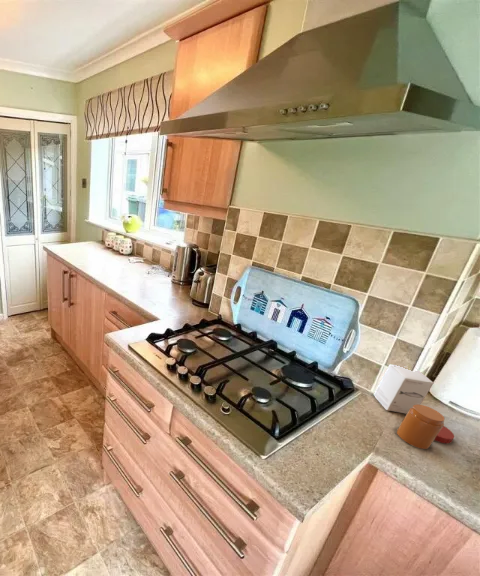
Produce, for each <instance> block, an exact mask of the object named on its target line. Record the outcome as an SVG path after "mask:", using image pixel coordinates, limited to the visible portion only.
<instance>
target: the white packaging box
mask: <svg viewBox="0 0 480 576" xmlns="http://www.w3.org/2000/svg"><path fill="white" fill-rule="evenodd" d="M400 366H401V365H398V366H397V365H396V364H391V363H390V364H388V366H387V368H386V370H385V372H384V374H383V375H382V377H381V380H380V381H379V383H378V385H377V387H376V389H375V391H374V393H373V396H374V398H375V399H376V400H377V401H378V402H379V404H380V405H381V406H382V407H383V409H385V410H386V411H389V412H396V413H400V414H405V415H406V414H407V413H408V411H409V409H410V408H413V405H417V404H419V405H422V403H423V401H424V400H425V398H426V396H427V395H428V393H429V392H430V390H431V388H432V387H433V384H434V381H432V380H431V379H430V378H429V377H428V376H426V375H425V374H424V373H422V371H420V370H419V369H417V370H418V371H415V372H413V371H411V370H408V369H405V368H403V367H400Z"/></svg>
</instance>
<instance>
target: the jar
mask: <svg viewBox="0 0 480 576" xmlns="http://www.w3.org/2000/svg"><path fill="white" fill-rule="evenodd" d="M444 422H445V417H444V416H443V414H442V413H441V412H440V411H437V410H436V409H434V408H432V407H429V406H427V405H424V404H420V405H419V404H417V405H413V408H410V409H409V411H408V413H407V414H405V416H404V417H403V420H402V421H401V423H400V425H399V426H398V428H397V430H396V434H397V436H398V437H399V438H400V439H401V440H402V441H404V442H406V443H407V444H409V445H411V446H413V447H415V448H417V449H421V450H429V449H430V447H431V446H432V444H433V443H434V442H435V438H436V436H437V435H438V433H439V432H440V430H441V429H442V427H443V426H445V423H444Z"/></svg>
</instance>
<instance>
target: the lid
mask: <svg viewBox="0 0 480 576" xmlns="http://www.w3.org/2000/svg"><path fill="white" fill-rule="evenodd" d="M454 438H455V434H454V433H453V431H451V429H449V428H447V427H446V426H445V425H444V426H443V427H442V429H441V430H440V432H439V433H438V435H437V436H436V438H435V440H434V442H438V443H441V444H451V443H452V442H453V441H454Z"/></svg>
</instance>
